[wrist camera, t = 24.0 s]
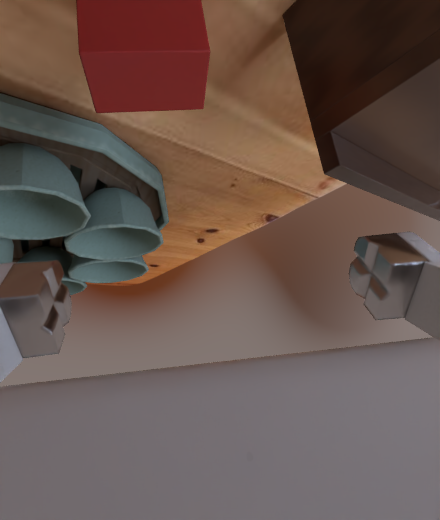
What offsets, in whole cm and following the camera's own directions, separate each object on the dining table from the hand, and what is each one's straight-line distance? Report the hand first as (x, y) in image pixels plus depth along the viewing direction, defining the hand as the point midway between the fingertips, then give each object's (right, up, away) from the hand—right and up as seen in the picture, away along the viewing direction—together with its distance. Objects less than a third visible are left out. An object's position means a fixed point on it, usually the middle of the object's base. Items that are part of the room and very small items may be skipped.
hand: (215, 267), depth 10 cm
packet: (-5, +19, +11) cm, 22 cm away
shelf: (+17, +20, +20) cm, 33 cm away
